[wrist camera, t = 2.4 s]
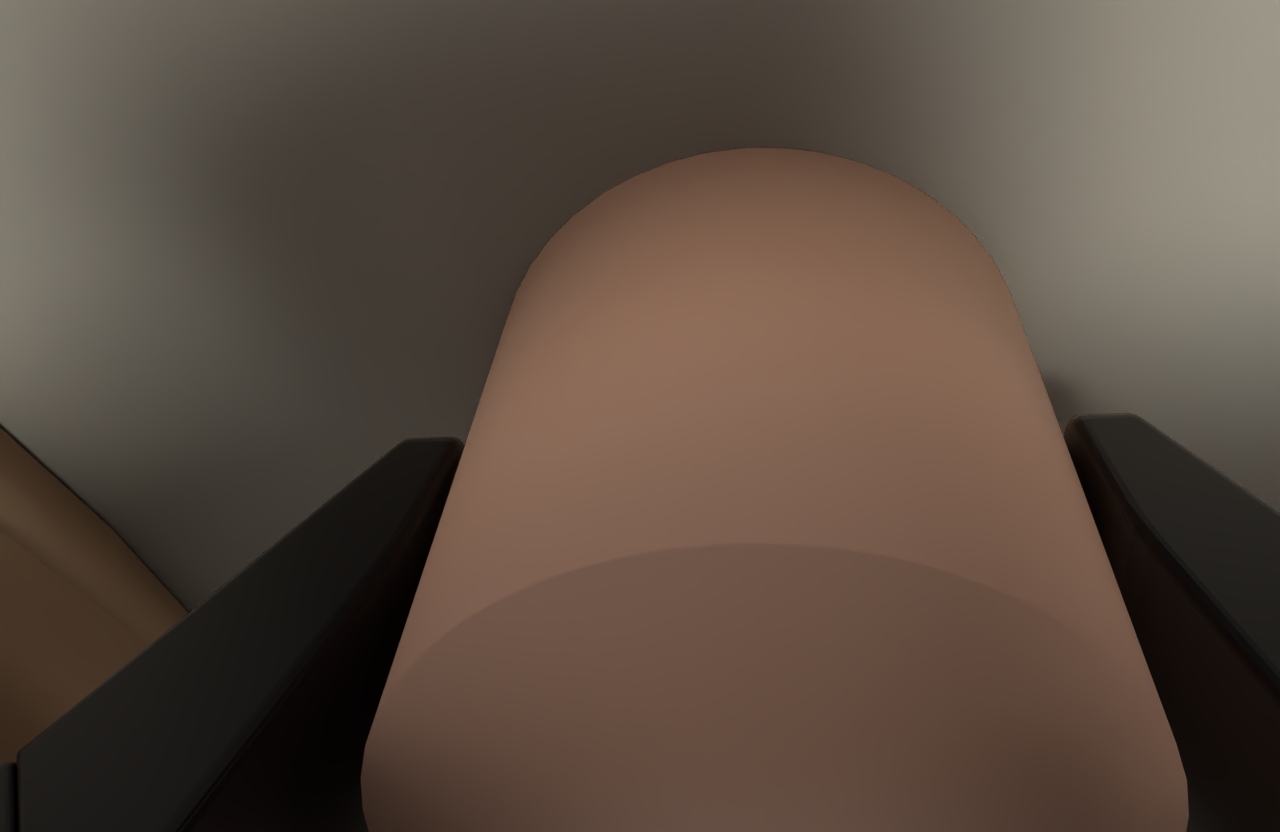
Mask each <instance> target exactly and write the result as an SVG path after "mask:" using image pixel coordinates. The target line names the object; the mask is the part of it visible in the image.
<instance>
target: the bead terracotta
mask: <svg viewBox="0 0 1280 832" xmlns="http://www.w3.org/2000/svg"><path fill="white" fill-rule="evenodd" d="M361 791H362V805H363V813H364V816H365V820H366V823H367V827H368V830H369V832H1186V830H1187V824H1188V818H1189V807H1188V789H1187V779H1186V775H1185V772H1184V768H1183V765H1182V761H1181V758H1180V755H1179V751H1178V748H1177V744H1176V742H1175V739H1174V736H1173V733H1172V731H1171V728H1170V725H1169V723H1168V720H1167V717H1166V714H1165V712H1164V709H1163V706H1162V704H1161V701H1160V698H1159V695H1158V693H1157V690H1156V687H1155V684H1154V682H1153V679H1152V676H1151V674H1150V671H1149V668H1148V665H1147V663H1146V660H1145V657H1144V655H1143V652H1142V649H1141V646H1140V644H1139V641H1138V638H1137V636H1136V633H1135V630H1134V627H1133V625H1132V622H1131V619H1130V617H1129V614H1128V611H1127V608H1126V606H1125V603H1124V600H1123V598H1122V595H1121V592H1120V589H1119V587H1118V584H1117V581H1116V578H1115V576H1114V573H1113V570H1112V568H1111V565H1110V562H1109V559H1108V557H1107V554H1106V551H1105V549H1104V546H1103V543H1102V540H1101V538H1100V535H1099V532H1098V530H1097V527H1096V524H1095V521H1094V519H1093V516H1092V513H1091V511H1090V508H1089V505H1088V502H1087V500H1086V497H1085V494H1084V492H1083V489H1082V486H1081V483H1080V481H1079V478H1078V475H1077V473H1076V470H1075V467H1074V464H1073V462H1072V459H1071V456H1070V453H1069V451H1068V448H1067V445H1066V443H1065V440H1064V437H1063V434H1062V432H1061V429H1060V426H1059V424H1058V421H1057V418H1056V415H1055V413H1054V410H1053V407H1052V405H1051V402H1050V399H1049V396H1048V394H1047V391H1046V388H1045V386H1044V383H1043V380H1042V377H1041V375H1040V372H1039V369H1038V367H1037V364H1036V361H1035V358H1034V356H1033V353H1032V350H1031V348H1030V345H1029V342H1028V339H1027V337H1026V334H1025V331H1024V328H1023V326H1022V323H1021V320H1020V318H1019V315H1018V312H1017V309H1016V307H1015V304H1014V301H1013V299H1012V296H1011V293H1010V291H1009V289H1008V287H1007V285H1006V283H1005V281H1004V279H1003V277H1002V275H1001V273H1000V271H999V269H998V267H997V266H996V264H995V263H994V261H993V260H992V259H991V257H990V256H989V254H988V253H987V252H986V250H985V249H984V247H983V246H982V245H981V243H980V242H979V240H978V239H977V238H976V237H975V236H974V235H973V234H972V233H971V232H970V231H969V230H968V229H967V228H966V227H965V226H964V225H963V224H962V223H961V222H960V221H959V220H958V219H957V218H956V217H955V215H953V214H952V213H951V212H949V211H948V210H947V209H945V208H944V207H943V206H941V205H940V204H939V203H938V202H936V201H935V200H934V199H932V198H931V197H930V196H928V195H927V194H926V193H924V192H922V191H920V190H918V189H917V188H915V187H913V186H911V185H910V184H908V183H906V182H904V181H902V180H901V179H899V178H897V177H895V176H893V175H891V174H888V173H886V172H883V171H881V170H878V169H876V168H873V167H871V166H868V165H866V164H863V163H860V162H857V161H853V160H849V159H845V158H841V157H837V156H833V155H830V154H826V153H821V152H813V151H805V150H796V149H788V148H741V149H733V150H725V151H717V152H709V153H704V154H700V155H696V156H692V157H688V158H684V159H680V160H676V161H672V162H669V163H666V164H664V165H661V166H659V167H656V168H653V169H651V170H648V171H646V172H643V173H641V174H638V175H636V176H634V177H632V178H630V179H628V180H626V181H625V182H623V183H621V184H619V185H617V186H616V187H614V188H612V189H610V190H608V191H606V192H605V193H603V194H602V195H600V196H599V197H598V198H596V199H595V200H593V201H592V202H591V203H589V204H588V205H587V206H585V207H584V208H583V209H581V210H580V211H579V212H577V213H576V214H575V215H574V216H573V217H572V218H571V219H570V220H569V221H568V222H567V223H566V224H565V225H564V226H563V227H562V228H561V229H560V230H559V231H558V232H557V233H555V234H554V235H553V236H552V237H551V239H550V240H549V241H548V243H547V244H546V245H545V247H544V248H543V249H542V251H541V252H540V253H539V255H538V256H537V257H536V259H535V260H534V261H533V262H532V264H531V266H530V268H529V270H528V271H527V273H526V275H525V277H524V279H523V281H522V282H521V284H520V286H519V288H518V290H517V292H516V295H515V298H514V301H513V303H512V306H511V309H510V312H509V315H508V317H507V320H506V323H505V326H504V329H503V332H502V335H501V338H500V341H499V344H498V347H497V350H496V353H495V356H494V359H493V363H492V366H491V369H490V372H489V375H488V378H487V381H486V384H485V387H484V390H483V393H482V396H481V399H480V402H479V405H478V408H477V411H476V414H475V417H474V420H473V423H472V426H471V429H470V432H469V435H468V438H467V441H466V444H465V447H464V450H463V453H462V456H461V459H460V462H459V465H458V468H457V471H456V474H455V477H454V480H453V483H452V486H451V489H450V492H449V495H448V498H447V501H446V504H445V507H444V510H443V513H442V516H441V519H440V522H439V525H438V528H437V531H436V534H435V537H434V540H433V543H432V546H431V549H430V552H429V555H428V558H427V561H426V564H425V567H424V570H423V573H422V576H421V579H420V582H419V585H418V588H417V591H416V594H415V597H414V600H413V603H412V606H411V609H410V612H409V615H408V618H407V621H406V624H405V627H404V630H403V633H402V636H401V639H400V642H399V645H398V648H397V651H396V654H395V657H394V660H393V663H392V666H391V669H390V672H389V675H388V678H387V681H386V685H385V688H384V691H383V694H382V697H381V700H380V703H379V706H378V709H377V712H376V715H375V718H374V721H373V724H372V727H371V730H370V733H369V736H368V739H367V742H366V745H365V750H364V758H363V765H362V772H361Z"/></svg>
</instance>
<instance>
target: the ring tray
mask: <svg viewBox="0 0 1280 832" xmlns="http://www.w3.org/2000/svg"><path fill="white" fill-rule="evenodd" d="M187 614H189V613H188V612H187V611H186V610H185V609H184V608H183V606H182V605H181V604H180V603H179V602H178V601H177V600H176V599H175V598H174V597H173V595H172V594H171V593H170V592H169V591H168V590H167V589H166V588H165V587H164V586H163V584H162V583H161V582H160V581H159V580H158V579H157V578H156V577H155V576H154V575H153V573H152V572H151V571H150V570H149V569H148V568H147V567H146V566H145V565H144V564H143V562H142V561H141V560H140V559H139V558H138V557H137V556H136V555H135V554H134V553H133V551H132V550H131V549H130V548H129V547H128V546H127V545H126V544H125V543H124V542H123V540H122V539H121V538H120V537H119V536H118V535H117V534H116V533H115V532H114V531H113V529H112V528H111V527H109V526H108V525H107V524H106V523H105V522H104V521H103V520H102V519H101V518H99V517H98V516H97V515H96V514H95V513H94V512H93V511H92V510H91V509H89V508H88V507H87V506H86V505H85V504H84V503H83V502H82V501H81V500H80V499H78V498H77V497H76V496H75V495H74V494H73V493H72V492H71V491H70V490H68V489H67V488H66V487H65V486H64V485H63V484H62V483H61V482H60V481H58V480H57V479H56V478H55V477H54V476H53V475H52V474H51V473H50V472H49V471H47V470H46V469H45V468H44V467H43V466H42V465H41V464H40V463H39V462H37V461H36V460H35V459H34V458H33V457H32V456H31V455H30V454H29V453H28V452H26V451H25V450H24V449H23V448H22V447H21V446H20V445H19V444H18V443H16V442H15V441H14V440H13V439H12V438H11V437H10V436H9V435H8V434H6V433H5V432H4V431H3V430H2V429H1V428H0V765H1V764H2V763H4V762H7V761H11V762H14V763H16V754H17V753H18V751H19V750H20V749H21V748H23V747H24V746H25V745H26V744H28V743H29V742H30V741H31V740H33V739H34V738H35V737H36V736H38V735H39V734H40V733H41V732H43V731H44V730H45V729H46V728H47V727H49V726H50V725H51V724H52V723H54V722H55V721H56V720H57V719H59V718H60V717H61V716H62V715H64V714H65V713H66V712H67V711H69V710H70V709H71V708H72V707H73V706H75V705H76V704H77V703H78V702H80V701H81V700H82V699H83V698H85V697H86V696H87V695H88V694H90V693H91V692H92V691H93V690H95V689H96V688H97V687H98V686H99V685H101V684H102V683H103V682H104V681H106V680H107V679H108V678H109V677H111V676H112V675H113V674H114V673H116V672H117V671H118V670H119V669H121V668H122V667H123V666H124V665H125V664H127V663H128V662H129V661H130V660H132V659H133V658H134V657H135V656H137V655H138V654H139V653H140V652H142V651H143V650H144V649H145V648H146V647H148V646H149V645H150V644H151V643H153V642H154V641H155V640H156V639H158V638H159V637H160V636H161V635H163V634H164V633H165V632H166V631H168V630H169V629H170V628H171V627H172V626H174V625H175V624H176V623H177V622H179V621H180V620H181V619H182V618H184V617H185V616H186V615H187Z"/></svg>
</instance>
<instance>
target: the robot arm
mask: <svg viewBox="0 0 1280 832" xmlns="http://www.w3.org/2000/svg"><path fill="white" fill-rule="evenodd" d="M1064 440H1065V443H1066V445H1067V448H1068V451H1069V453H1070V456H1071V459H1072V462H1073V464H1074V467H1075V470H1076V473H1077V475H1078V478H1079V481H1080V483H1081V486H1082V489H1083V492H1084V494H1085V497H1086V500H1087V502H1088V505H1089V508H1090V511H1091V513H1092V516H1093V519H1094V521H1095V524H1096V527H1097V530H1098V532H1099V535H1100V538H1101V540H1102V543H1103V546H1104V549H1105V551H1106V554H1107V557H1108V559H1109V562H1110V565H1111V568H1112V570H1113V573H1114V576H1115V578H1116V581H1117V584H1118V587H1119V589H1120V592H1121V595H1122V598H1123V600H1124V603H1125V606H1126V608H1127V611H1128V614H1129V617H1130V619H1131V622H1132V625H1133V627H1134V630H1135V633H1136V636H1137V638H1138V641H1139V644H1140V646H1141V649H1142V652H1143V655H1144V657H1145V660H1146V663H1147V665H1148V668H1149V671H1150V674H1151V676H1152V679H1153V682H1154V684H1155V687H1156V690H1157V693H1158V695H1159V698H1160V701H1161V704H1162V706H1163V709H1164V712H1165V714H1166V717H1167V720H1168V723H1169V725H1170V728H1171V731H1172V733H1173V736H1174V739H1175V742H1176V744H1177V748H1178V751H1179V755H1180V758H1181V761H1182V765H1183V768H1184V772H1185V775H1186V779H1187V789H1188V807H1189V818H1188V824H1187V830H1186V832H1280V513H1279V512H1277V511H1276V510H1274V509H1273V508H1272V507H1270V506H1269V505H1267V504H1266V503H1264V502H1263V501H1261V500H1260V499H1259V498H1257V497H1256V496H1254V495H1253V494H1251V493H1250V492H1248V491H1247V490H1245V489H1244V488H1243V487H1241V486H1240V485H1238V484H1237V483H1235V482H1234V481H1232V480H1231V479H1230V478H1228V477H1227V476H1225V475H1224V474H1222V473H1221V472H1219V471H1218V470H1216V469H1215V468H1214V467H1212V466H1211V465H1209V464H1208V463H1206V462H1205V461H1203V460H1202V459H1201V458H1199V457H1198V456H1196V455H1195V454H1193V453H1192V452H1190V451H1189V450H1187V449H1186V448H1185V447H1183V446H1182V445H1180V444H1179V443H1177V442H1176V441H1174V440H1173V439H1172V438H1170V437H1169V436H1167V435H1166V434H1164V433H1163V432H1161V431H1160V430H1159V429H1157V428H1156V427H1154V426H1153V425H1151V424H1150V423H1148V422H1147V421H1145V420H1144V419H1142V418H1141V417H1139V416H1137V415H1134V414H1131V413H1114V414H1087V415H1077V416H1075V417H1073V418H1072V419H1071V420H1070V421H1069V422H1068V424H1067V426H1066V429H1065V432H1064ZM464 447H465V444H464V443H463V442H462V441H461V440H460V439H458V438H456V437H430V438H410V439H406V440H404V441H402V442H401V443H399V444H398V445H396V446H395V447H394V448H393V449H391V450H390V451H389V452H388V453H386V454H385V455H384V456H383V457H381V458H380V459H379V460H378V461H377V462H375V463H374V464H373V465H372V466H370V467H369V468H368V469H367V470H365V471H364V472H363V473H362V474H360V475H359V476H358V477H357V478H356V479H354V480H353V481H352V482H351V483H349V484H348V485H347V486H346V487H344V488H343V489H342V490H341V491H339V492H338V493H337V494H336V495H334V496H333V497H332V498H331V499H330V500H328V501H327V502H326V503H325V504H323V505H322V506H321V507H320V508H318V509H317V510H316V511H315V512H313V513H312V514H311V515H310V516H309V517H307V518H306V519H305V520H304V521H302V522H301V523H300V524H299V525H297V526H296V527H295V528H294V529H292V530H291V531H290V532H289V533H287V534H286V535H285V536H284V537H283V538H281V539H280V540H279V541H278V542H276V543H275V544H274V545H273V546H271V547H270V548H269V549H268V550H266V551H265V552H264V553H263V554H262V555H260V556H259V557H258V558H257V559H255V560H254V561H253V562H252V563H250V564H249V565H248V566H247V567H245V568H244V569H243V570H242V571H240V572H239V573H238V574H237V575H236V576H234V577H233V578H232V579H231V580H229V581H228V582H227V583H226V584H224V585H223V586H222V587H221V588H219V589H218V590H217V591H216V592H215V593H213V594H212V595H211V596H210V597H208V598H207V599H206V600H205V601H203V602H202V603H201V604H200V605H198V606H197V607H196V608H195V609H193V610H192V611H191V612H190V613H189V614H187V615H186V616H185V617H184V618H182V619H181V620H180V621H179V622H177V623H176V624H175V625H174V626H172V627H171V628H170V629H169V630H168V631H166V632H165V633H164V634H163V635H161V636H160V637H159V638H158V639H156V640H155V641H154V642H153V643H151V644H150V645H149V646H148V647H146V648H145V649H144V650H143V651H142V652H140V653H139V654H138V655H137V656H135V657H134V658H133V659H132V660H130V661H129V662H128V663H127V664H125V665H124V666H123V667H122V668H121V669H119V670H118V671H117V672H116V673H114V674H113V675H112V676H111V677H109V678H108V679H107V680H106V681H104V682H103V683H102V684H101V685H99V686H98V687H97V688H96V689H95V690H93V691H92V692H91V693H90V694H88V695H87V696H86V697H85V698H83V699H82V700H81V701H80V702H78V703H77V704H76V705H75V706H73V707H72V708H71V709H70V710H69V711H67V712H66V713H65V714H64V715H62V716H61V717H60V718H59V719H57V720H56V721H55V722H54V723H52V724H51V725H50V726H49V727H47V728H46V729H45V730H44V731H43V732H41V733H40V734H39V735H38V736H36V737H35V738H34V739H33V740H31V741H30V742H29V743H28V744H26V745H25V746H24V747H23V748H21V749H20V750H19V751H18V753H17V754H16V763H14V762H11V761H7V762H4V763H2V764H1V765H0V832H369V830H368V827H367V823H366V820H365V816H364V813H363V805H362V791H361V772H362V765H363V758H364V750H365V745H366V742H367V739H368V736H369V733H370V730H371V727H372V724H373V721H374V718H375V715H376V712H377V709H378V706H379V703H380V700H381V697H382V694H383V691H384V688H385V685H386V681H387V678H388V675H389V672H390V669H391V666H392V663H393V660H394V657H395V654H396V651H397V648H398V645H399V642H400V639H401V636H402V633H403V630H404V627H405V624H406V621H407V618H408V615H409V612H410V609H411V606H412V603H413V600H414V597H415V594H416V591H417V588H418V585H419V582H420V579H421V576H422V573H423V570H424V567H425V564H426V561H427V558H428V555H429V552H430V549H431V546H432V543H433V540H434V537H435V534H436V531H437V528H438V525H439V522H440V519H441V516H442V513H443V510H444V507H445V504H446V501H447V498H448V495H449V492H450V489H451V486H452V483H453V480H454V477H455V474H456V471H457V468H458V465H459V462H460V459H461V456H462V453H463V450H464Z"/></svg>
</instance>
